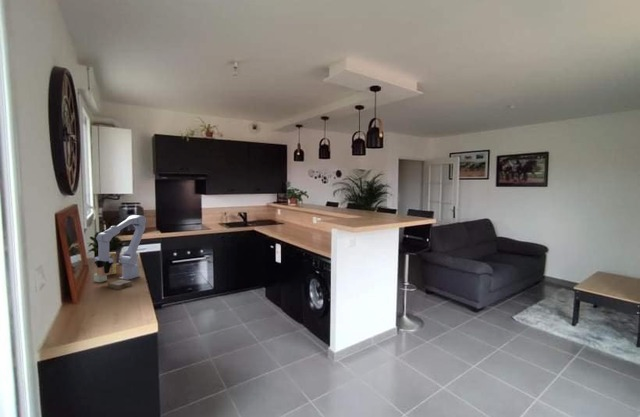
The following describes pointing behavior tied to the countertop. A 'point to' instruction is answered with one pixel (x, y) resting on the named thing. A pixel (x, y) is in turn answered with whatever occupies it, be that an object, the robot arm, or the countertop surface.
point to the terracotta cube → (102, 271)
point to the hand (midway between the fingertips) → (103, 272)
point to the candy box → (113, 266)
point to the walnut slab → (119, 284)
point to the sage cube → (100, 278)
